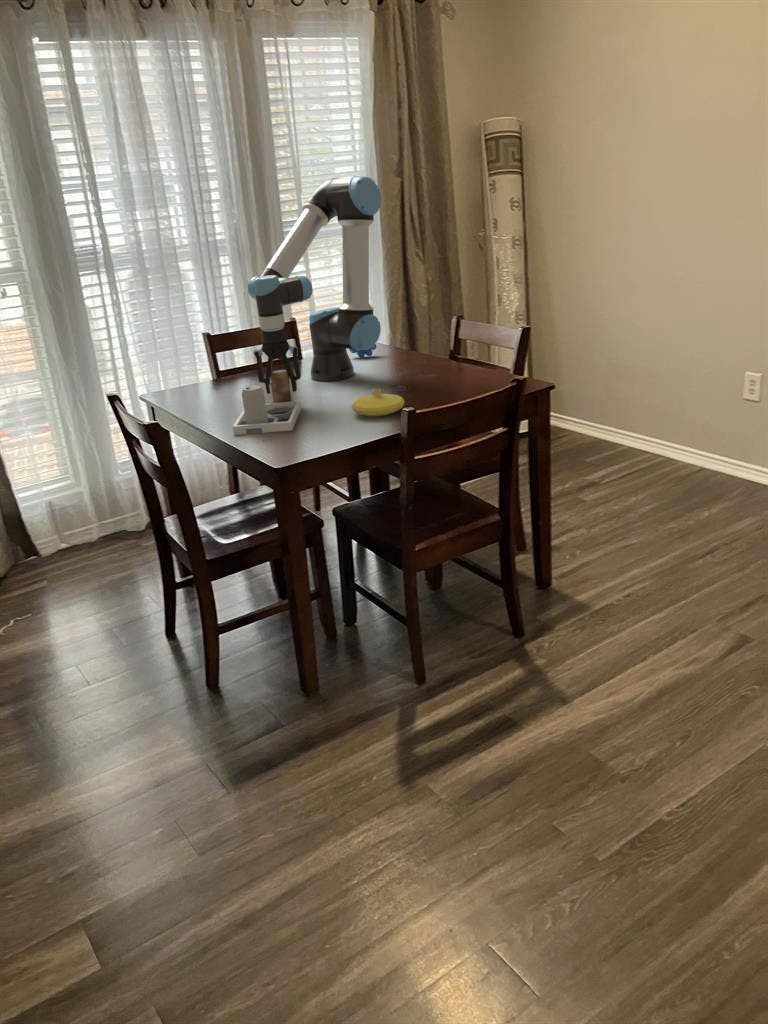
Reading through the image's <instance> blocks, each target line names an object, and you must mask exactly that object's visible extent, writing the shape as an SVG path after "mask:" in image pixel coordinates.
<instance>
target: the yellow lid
mask: <svg viewBox="0 0 768 1024" xmlns="http://www.w3.org/2000/svg"><path fill="white" fill-rule="evenodd" d="M404 406H405V400H404V398H403V397H402V396H400V395H397V394H391V393H382V391H381V389H380V388H374V389H373V390H372V394H371V395H365V396H361V397H359V398H357V399H355V400H354V401H353V403H352V404H351V409H352V411H353V412H354V413H355V414H359V415H361V416H363V417H364V416H365V417H383V416H389V415H391V414H394V413H396V412H397V411H399V410H401V409H402V408H403V407H404Z"/></svg>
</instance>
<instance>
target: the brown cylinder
mask: <svg viewBox="0 0 768 1024" xmlns="http://www.w3.org/2000/svg"><path fill="white" fill-rule="evenodd" d="M270 375H271V377H270V382H272V389H273V396H274V403H280V402H291V395H290V387H289V382H290V377H289V375H288V373H287V371H286V369H278V370H274V371H271V373H270Z"/></svg>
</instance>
